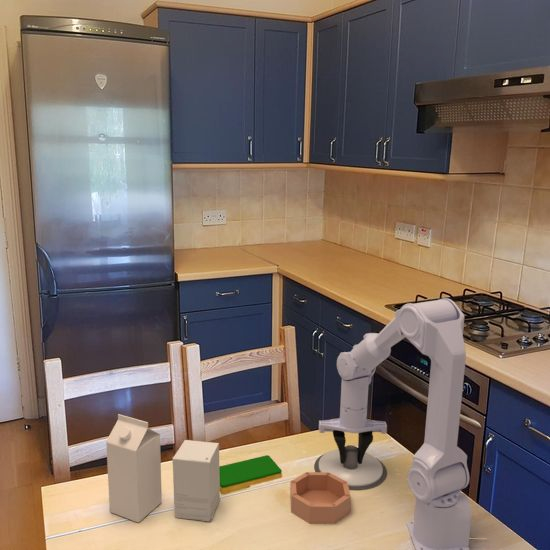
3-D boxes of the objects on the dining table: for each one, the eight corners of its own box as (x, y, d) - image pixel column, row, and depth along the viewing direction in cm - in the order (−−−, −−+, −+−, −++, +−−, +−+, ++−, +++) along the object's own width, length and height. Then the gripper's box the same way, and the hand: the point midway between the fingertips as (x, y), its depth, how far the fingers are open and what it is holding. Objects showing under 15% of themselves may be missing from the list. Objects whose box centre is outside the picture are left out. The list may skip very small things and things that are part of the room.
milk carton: (133, 493, 113) (130, 406, 109) (162, 503, 110) (159, 414, 106) (109, 512, 107) (104, 422, 103) (138, 523, 104) (135, 430, 100)
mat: (379, 451, 131) (379, 450, 130) (394, 492, 115) (394, 490, 115) (311, 450, 130) (311, 449, 130) (317, 491, 115) (317, 489, 115)
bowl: (344, 489, 116) (345, 472, 115) (352, 525, 104) (353, 507, 103) (289, 489, 115) (289, 471, 115) (291, 525, 104) (292, 506, 103)
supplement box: (220, 499, 112) (220, 442, 109) (210, 523, 104) (209, 462, 102) (185, 495, 113) (184, 438, 110) (172, 518, 106) (171, 458, 103)
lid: (375, 452, 130) (377, 433, 128) (388, 487, 116) (389, 467, 115) (316, 451, 129) (316, 432, 128) (321, 487, 116) (322, 466, 115)
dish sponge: (282, 480, 119) (282, 470, 119) (221, 496, 113) (221, 485, 113) (268, 464, 125) (268, 454, 125) (210, 478, 120) (210, 468, 119)
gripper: (383, 396, 123) (380, 452, 126) (318, 395, 123) (316, 451, 126) (390, 411, 116) (386, 469, 119) (321, 410, 116) (319, 468, 119)
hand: (350, 461), depth 122 cm, fingers closed on lid, 3 cm apart
